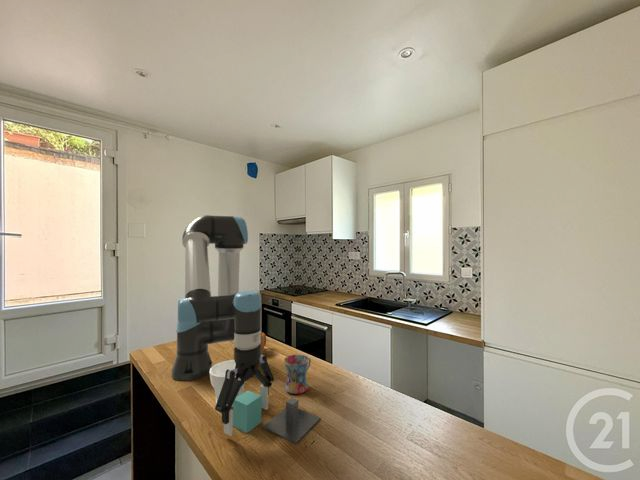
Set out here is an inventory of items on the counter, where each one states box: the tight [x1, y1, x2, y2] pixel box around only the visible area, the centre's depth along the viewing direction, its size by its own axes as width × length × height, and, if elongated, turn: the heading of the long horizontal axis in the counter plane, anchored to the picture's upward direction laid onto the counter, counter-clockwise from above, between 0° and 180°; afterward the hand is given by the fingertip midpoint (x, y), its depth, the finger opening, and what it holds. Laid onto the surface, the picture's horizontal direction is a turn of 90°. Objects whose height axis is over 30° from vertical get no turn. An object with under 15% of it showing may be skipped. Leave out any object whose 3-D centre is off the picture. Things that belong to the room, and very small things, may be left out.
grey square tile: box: [262, 397, 321, 446], centre depth 78 cm, size 12×12×6 cm
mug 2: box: [283, 354, 312, 395], centre depth 97 cm, size 12×9×11 cm
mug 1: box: [260, 331, 267, 355], centre depth 130 cm, size 9×12×9 cm
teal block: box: [232, 390, 262, 434], centre depth 77 cm, size 6×6×8 cm
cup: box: [208, 359, 247, 408], centre depth 89 cm, size 12×12×11 cm
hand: (247, 419), depth 77 cm, fingers open, 13 cm apart
